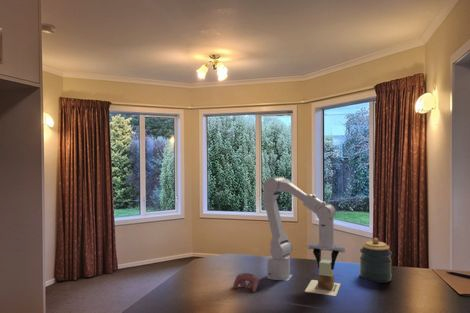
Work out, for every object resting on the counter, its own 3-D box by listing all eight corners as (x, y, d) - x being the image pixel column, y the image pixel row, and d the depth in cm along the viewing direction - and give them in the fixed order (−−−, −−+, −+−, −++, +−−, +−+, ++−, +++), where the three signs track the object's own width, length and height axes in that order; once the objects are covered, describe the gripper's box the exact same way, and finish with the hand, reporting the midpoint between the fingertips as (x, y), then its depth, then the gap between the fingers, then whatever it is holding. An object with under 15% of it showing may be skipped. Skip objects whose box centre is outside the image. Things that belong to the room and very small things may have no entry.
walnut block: (317, 288, 150) (317, 275, 150) (320, 283, 155) (320, 271, 155) (331, 290, 148) (332, 277, 148) (333, 285, 153) (334, 273, 153)
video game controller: (258, 293, 151) (260, 275, 153) (254, 292, 147) (257, 273, 150) (235, 289, 155) (238, 272, 157) (231, 288, 151) (234, 270, 154)
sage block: (319, 274, 150) (319, 262, 150) (321, 271, 154) (321, 259, 154) (330, 276, 148) (330, 263, 148) (332, 273, 152) (332, 260, 152)
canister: (358, 281, 160) (358, 240, 159) (360, 271, 172) (360, 233, 171) (391, 285, 155) (392, 242, 154) (391, 275, 167) (391, 236, 166)
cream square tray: (304, 292, 147) (304, 291, 147) (311, 281, 160) (311, 279, 160) (335, 297, 142) (335, 295, 142) (340, 285, 155) (340, 283, 155)
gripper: (306, 235, 150) (306, 268, 151) (343, 238, 145) (343, 273, 145) (309, 231, 157) (309, 263, 157) (345, 234, 151) (345, 268, 152)
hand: (326, 268), depth 152 cm, fingers closed on sage block, 4 cm apart
